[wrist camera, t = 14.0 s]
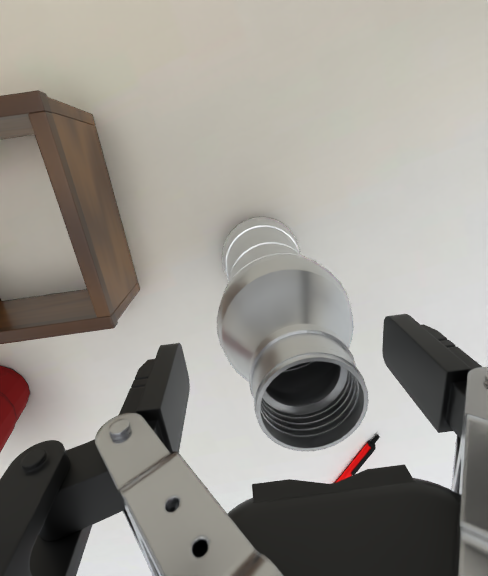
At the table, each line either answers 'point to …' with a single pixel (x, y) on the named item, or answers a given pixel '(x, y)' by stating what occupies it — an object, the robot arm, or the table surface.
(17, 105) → the wooden box
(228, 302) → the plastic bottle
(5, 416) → the plastic cup
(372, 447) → the pen
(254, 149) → the table surface
